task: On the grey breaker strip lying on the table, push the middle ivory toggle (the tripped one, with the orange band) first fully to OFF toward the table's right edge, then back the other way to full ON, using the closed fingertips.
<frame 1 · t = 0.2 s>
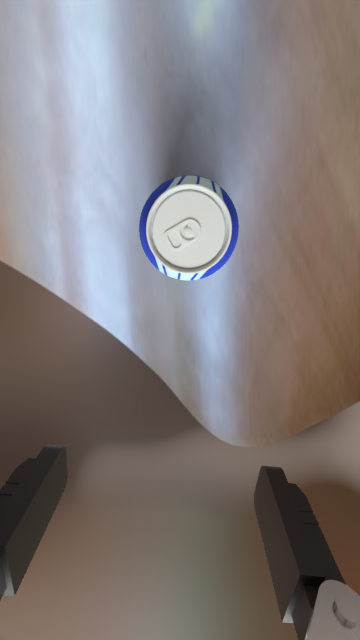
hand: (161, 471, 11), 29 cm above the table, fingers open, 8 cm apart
beer can: (187, 231, 35), on the table
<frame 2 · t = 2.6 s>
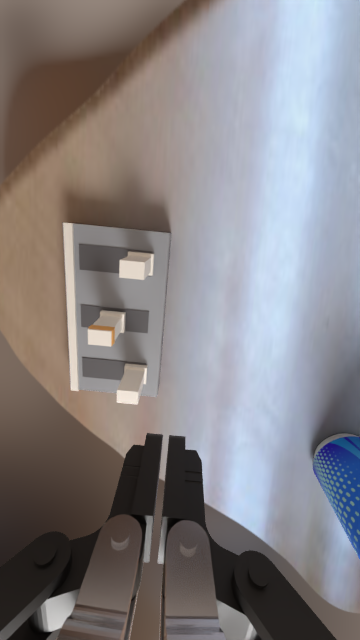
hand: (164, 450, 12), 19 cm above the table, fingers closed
beer can: (339, 452, 36), on the table
breaker toggle: (107, 328, 25), point 5 cm above the table, slide at 2.5 cm
breaker panel: (120, 312, 30), on the table
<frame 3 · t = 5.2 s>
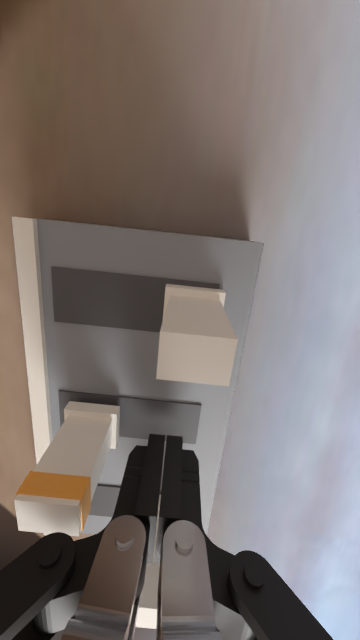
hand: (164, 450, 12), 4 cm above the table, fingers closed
breaker toggle: (75, 459, 11), point 5 cm above the table, slide at 0.9 cm, touching gripper
breaker panel: (138, 388, 16), on the table
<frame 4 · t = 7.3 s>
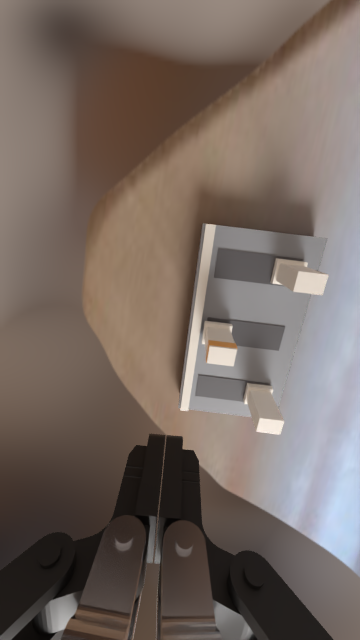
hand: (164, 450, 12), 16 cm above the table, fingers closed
breaker toggle: (218, 343, 22), point 5 cm above the table, slide at 0.0 cm
breaker panel: (239, 324, 27), on the table
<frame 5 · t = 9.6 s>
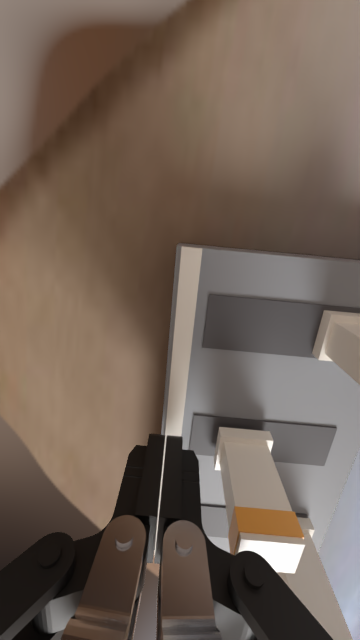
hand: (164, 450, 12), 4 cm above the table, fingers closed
breaker toggle: (251, 489, 11), point 5 cm above the table, slide at 1.4 cm, touching gripper
breaker panel: (249, 408, 16), on the table
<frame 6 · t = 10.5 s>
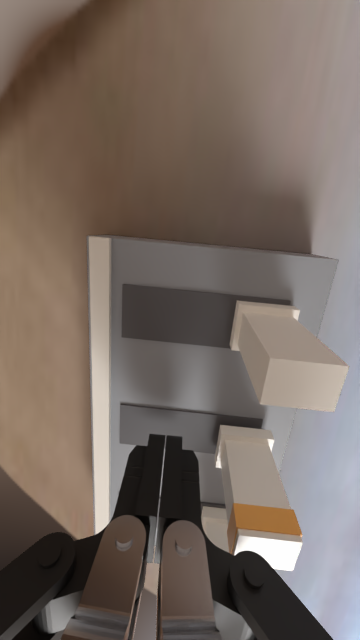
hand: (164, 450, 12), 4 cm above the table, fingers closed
breaker toggle: (251, 487, 11), point 5 cm above the table, slide at 5.1 cm, touching gripper
breaker panel: (189, 400, 16), on the table
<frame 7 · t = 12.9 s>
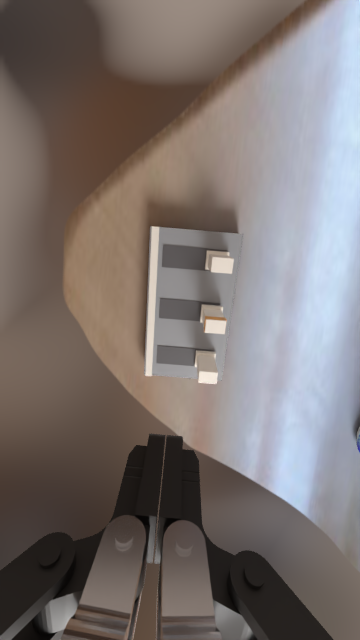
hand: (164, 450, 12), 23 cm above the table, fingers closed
breaker toggle: (213, 319, 28), point 5 cm above the table, slide at 5.0 cm
breaker panel: (188, 305, 33), on the table
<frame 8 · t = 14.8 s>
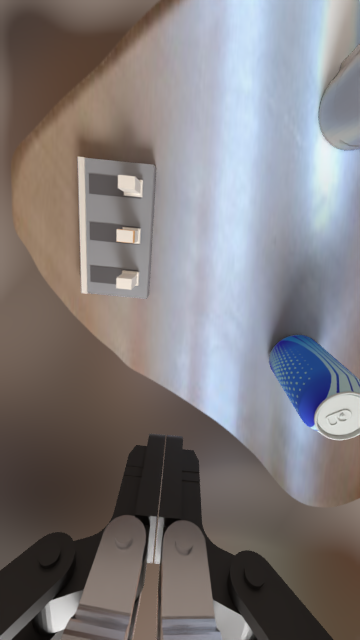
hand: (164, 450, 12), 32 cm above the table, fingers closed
beer can: (291, 354, 45), on the table
breaker toggle: (128, 235, 35), point 5 cm above the table, slide at 5.0 cm
breaker panel: (119, 233, 40), on the table
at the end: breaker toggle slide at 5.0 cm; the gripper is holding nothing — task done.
